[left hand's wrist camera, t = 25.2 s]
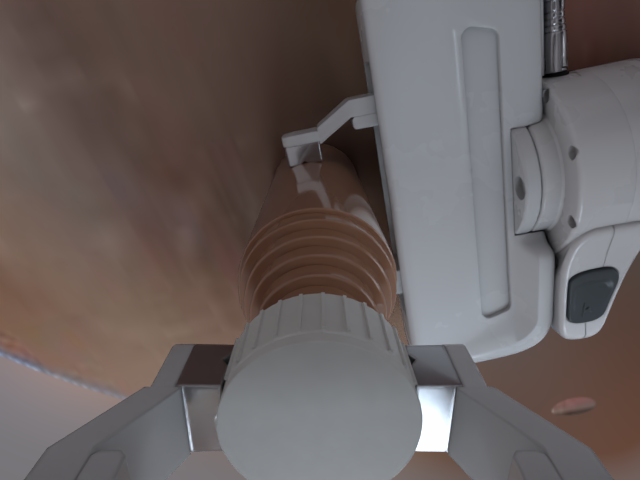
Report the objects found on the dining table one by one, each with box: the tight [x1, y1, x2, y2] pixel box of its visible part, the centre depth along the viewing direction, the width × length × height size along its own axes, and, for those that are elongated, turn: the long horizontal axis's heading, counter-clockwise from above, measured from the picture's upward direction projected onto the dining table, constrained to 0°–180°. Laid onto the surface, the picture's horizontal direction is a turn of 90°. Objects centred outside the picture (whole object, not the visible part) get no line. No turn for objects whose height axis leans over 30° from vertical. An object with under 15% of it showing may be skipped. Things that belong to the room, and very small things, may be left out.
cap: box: [216, 292, 423, 480], centre depth 10 cm, size 4×4×2 cm
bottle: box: [238, 144, 397, 323], centre depth 19 cm, size 6×6×20 cm
